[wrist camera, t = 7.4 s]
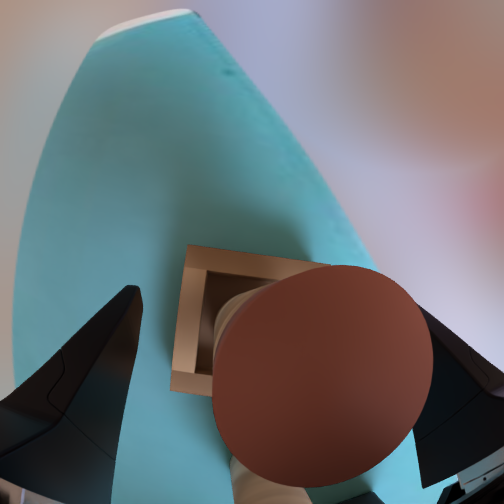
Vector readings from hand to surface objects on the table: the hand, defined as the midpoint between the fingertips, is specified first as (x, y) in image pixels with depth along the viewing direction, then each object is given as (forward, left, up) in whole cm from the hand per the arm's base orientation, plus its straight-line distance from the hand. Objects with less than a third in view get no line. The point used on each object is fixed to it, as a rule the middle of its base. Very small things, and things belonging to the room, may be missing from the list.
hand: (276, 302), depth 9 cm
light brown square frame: (-1, 0, -9) cm, 9 cm away
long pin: (-1, 0, -8) cm, 8 cm away
